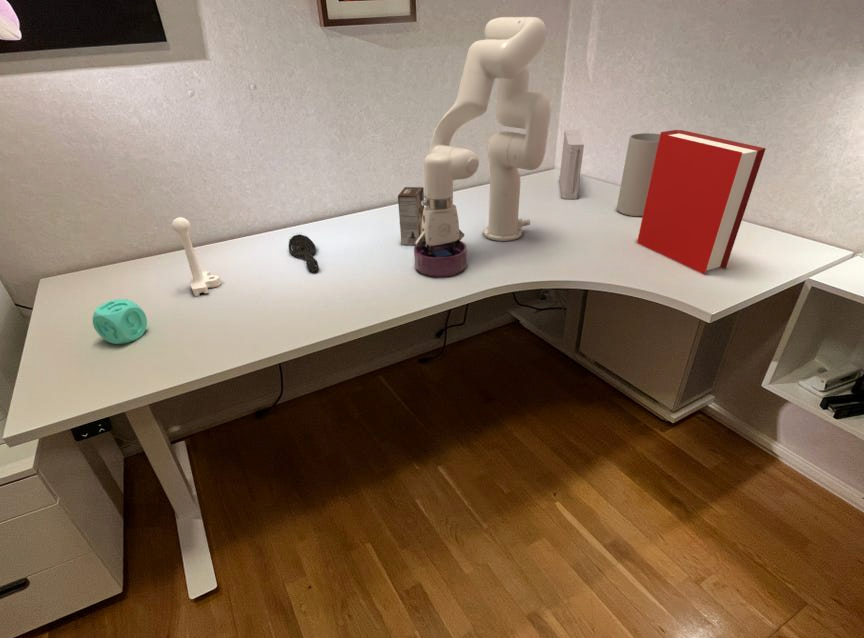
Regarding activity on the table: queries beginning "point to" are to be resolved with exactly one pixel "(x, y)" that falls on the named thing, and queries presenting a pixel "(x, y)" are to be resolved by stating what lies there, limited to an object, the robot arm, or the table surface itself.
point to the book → (698, 197)
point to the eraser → (441, 252)
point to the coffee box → (410, 214)
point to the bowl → (441, 261)
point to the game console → (571, 164)
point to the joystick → (194, 260)
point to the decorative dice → (119, 321)
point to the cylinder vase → (637, 173)
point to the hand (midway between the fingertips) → (440, 262)
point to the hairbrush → (304, 251)
